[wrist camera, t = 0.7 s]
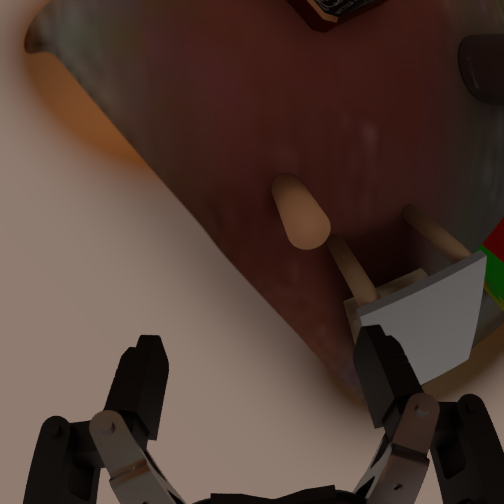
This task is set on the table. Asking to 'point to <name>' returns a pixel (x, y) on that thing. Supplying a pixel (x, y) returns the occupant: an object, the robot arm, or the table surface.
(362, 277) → the grey small table
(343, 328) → the table surface
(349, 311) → the socket block
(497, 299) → the puzzle toy
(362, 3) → the whiskey bottle
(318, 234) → the peg
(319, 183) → the table surface
